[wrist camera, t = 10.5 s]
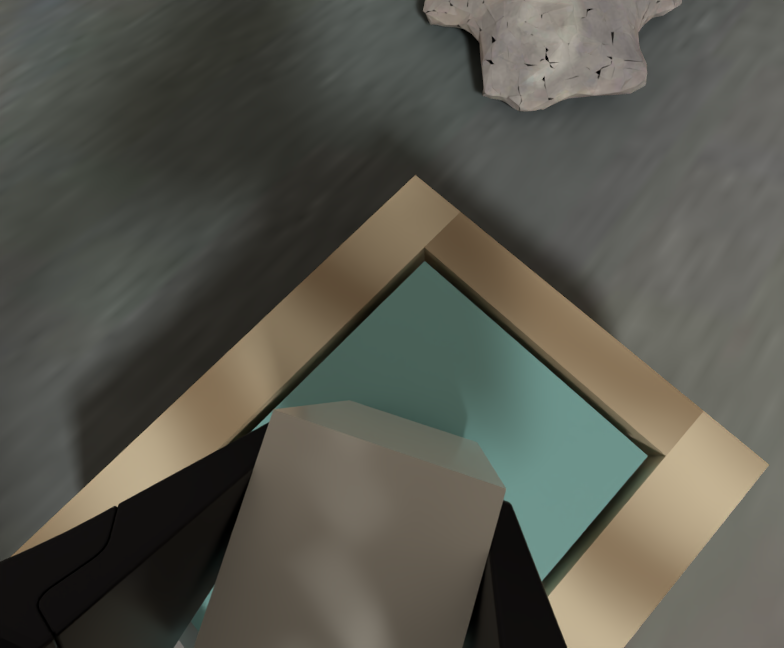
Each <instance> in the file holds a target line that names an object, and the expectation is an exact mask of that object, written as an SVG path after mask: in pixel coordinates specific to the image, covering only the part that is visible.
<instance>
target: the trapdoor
mask: <svg viewBox="0 0 784 648" xmlns="http://www.w3.org/2000/svg"><path fill="white" fill-rule="evenodd" d="M347 400H350V401H353V402H357V403H360V404H363V405H366V406H369V407H372V408H375V409H378V410H381V411H384V412H387V413H390V414H393V415H396V416H399V417H402V418H405V419H408V420H411V421H414V422H417V423H420V424H423V425H426V426H429V427H433V428H436V429H439V430H442V431H445V432H448V433H451V434H454V435H457V436H460V437H463V438H466V439H469V440H472V441H475V442H477V443H478V444H479V446H480V447H481V449H482V451H483V452H484V454H485V455H486V457H487V459H488V460H489V462H490V463H491V465H492V467H493V468H494V470H495V471H496V473H497V475H498V476H499V478H500V479H501V481H502V483H503V484H504V486H505V487H506V492H505V496H504V499H503V500H505V501H508V502H510V503H511V504H512V506H513V509H514V511H515V514H516V517H517V519H518V522H519V524H520V527H521V529H522V532H523V535H524V537H525V540H526V542H527V545H528V547H529V550H530V553H531V555H532V558H533V560H534V563H535V565H536V568H537V571H538V573H539V576H540V578H541V581H543V579H544V578H545V577H546V576H547V575H548V573H549V572H550V571H551V570H552V569H553V568H554V566H555V565H556V564H557V563H558V562H559V560H560V559H561V558H562V557H563V556H564V555H565V553H566V552H567V551H568V550H569V549H570V547H571V546H572V545H573V544H574V543H575V542H576V540H577V539H578V538H579V537H580V536H581V535H582V533H583V532H584V531H585V530H586V529H587V527H588V526H589V525H590V524H591V523H592V522H593V520H594V519H595V518H596V517H597V516H598V514H599V513H600V512H601V511H602V510H603V509H604V507H605V506H606V505H607V504H608V503H609V501H610V500H611V499H612V498H613V497H614V496H615V494H616V493H617V492H618V491H619V490H620V488H621V487H622V486H623V485H624V484H625V483H626V481H627V480H628V479H629V478H630V477H631V476H632V474H633V473H634V472H635V471H636V470H637V468H638V467H639V466H640V465H641V464H642V463H643V461H644V460H645V459H646V458H647V457H648V456H647V455H646V454H645V453H644V452H643V451H642V450H641V449H639V448H638V447H637V446H636V445H635V444H634V443H633V442H631V441H630V440H629V439H628V438H627V437H626V436H625V435H623V434H622V433H621V432H620V431H619V430H618V429H617V428H615V427H614V426H613V425H612V424H611V423H610V422H609V421H607V420H606V419H605V418H604V417H603V416H602V415H601V414H599V413H598V412H597V411H596V410H595V409H594V408H593V407H591V406H590V405H589V404H588V403H587V402H586V401H585V400H583V399H582V398H581V397H580V396H579V395H578V394H577V393H575V392H574V391H573V390H572V389H571V388H570V387H569V386H567V385H566V384H565V383H564V382H563V381H562V380H560V379H559V378H558V377H557V376H556V375H555V374H554V373H552V372H551V371H550V370H549V369H548V368H547V367H546V366H544V365H543V364H542V363H541V362H540V361H539V360H538V359H536V358H535V357H534V356H533V355H532V354H531V353H530V352H528V351H527V350H526V349H525V348H524V347H523V346H522V345H520V344H519V343H518V342H517V341H516V340H515V339H514V338H512V337H511V336H510V335H509V334H508V333H507V332H506V331H504V330H503V329H502V328H501V327H500V326H499V325H498V324H496V323H495V322H494V321H493V320H492V319H491V318H490V317H488V316H487V315H486V314H485V313H484V312H483V311H482V310H480V309H479V308H478V307H477V306H476V305H475V304H474V303H472V302H471V301H470V300H469V299H468V298H467V297H465V296H464V295H463V294H462V293H461V292H460V291H459V290H457V289H456V288H455V287H454V286H453V285H452V284H451V283H449V282H448V281H447V280H446V279H445V278H444V277H443V276H441V275H440V274H439V273H438V272H437V271H436V270H435V269H433V268H432V267H431V266H430V265H429V264H428V263H427V262H425V261H424V262H423V263H422V264H421V265H420V266H419V267H418V268H417V269H416V270H415V271H414V272H413V273H412V274H411V275H410V276H409V277H408V278H407V279H406V280H405V281H404V282H403V283H402V284H401V285H400V286H399V287H398V288H397V289H396V290H395V291H394V292H393V293H392V294H391V295H390V296H389V297H388V298H387V299H386V300H384V301H383V302H382V303H381V304H380V305H379V306H378V307H377V308H376V309H375V310H374V311H373V312H372V313H371V314H370V315H369V316H368V317H367V318H366V319H365V320H364V321H363V322H362V323H361V324H360V325H359V326H358V327H357V328H356V329H355V330H354V331H353V332H352V333H351V334H350V335H349V336H348V337H347V338H346V339H345V340H344V341H343V342H342V343H341V344H340V345H339V346H338V347H337V348H336V349H335V350H334V351H333V352H332V353H331V354H330V355H329V356H328V357H327V358H326V359H325V360H324V361H323V362H321V363H320V364H319V365H318V366H317V367H316V368H315V369H314V370H313V371H312V372H311V373H310V374H309V375H308V376H307V377H306V378H305V379H304V380H303V381H302V382H301V383H300V384H299V385H298V386H297V387H296V388H295V389H294V390H293V391H292V392H291V393H290V394H289V395H288V396H287V397H286V398H285V399H284V400H283V401H282V402H281V403H280V404H279V405H278V406H277V407H276V408H275V409H280V408H289V407H297V406H305V405H314V404H322V403H330V402H339V401H347ZM272 412H273V411H272ZM272 412H271V413H270V414H269V415H268V416H267V417H266V418H265V419H264V420H263V421H262V422H261V423H260V424H259V425H257V426H256V427H255V428H254V429H253V430H255V429H257V428H259V427H261V426H263V425H264V424H266V423H268V422H269V421H270V418H271V415H272ZM253 430H252V431H253ZM252 431H251V432H252ZM213 588H214V587H213ZM213 588H212V590H211V591H210V593H209V594H208V596H207V597H206V599H205V600H204V602H203V604H202V605H201V607H200V608H199V610H198V611H197V613H196V614H195V616H194V617H193V619H192V620H191V622H190V624H189V625H188V627H187V628H186V630H185V631H184V633H183V634H182V636H181V637H180V639H179V640H178V642H177V644H176V645H175V647H174V648H194V645H195V642H196V639H197V636H198V633H199V630H200V627H201V624H202V621H203V618H204V615H205V612H206V609H207V606H208V603H209V600H210V597H211V594H212V591H213Z"/></svg>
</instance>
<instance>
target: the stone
mask: <svg viewBox="0 0 784 648" xmlns="http://www.w3.org/2000/svg"><path fill="white" fill-rule="evenodd" d="M483 1H484V3H483ZM467 3H468V7H467ZM681 3H682V0H425V3H424V8H423V12H424V13H426V16H427V19H428V21H429V23H430V25H433V24H435V25H440V26H444V27H457V28H461V29H465V30H466V31H468V32H470V33H471V34H472V35H473V36H474V37H475V38H476V39H477V40H478V42H479V43H480V59H481V68H482V76H483V87H484V88H483V94H482V95H483V96H485V97H488V98H492V99H497V100H501V101H503V102H505V103H507V104H509V105H510V106H511V107H513V108H514V109H516V110H518V111H536V110H539V109H542V110H543V109H545V108H547V107H549V106H551V105H553V104H555V103H557V102H559V101H562V100H566V99H567V98H577V97H587V96H601V95H619V94H631V93H632V92H634V91H636V90H638V89H639V88H641V87H643V86H645V85H646V78H647V64H646V61H645V59H644V57H643V55H642V52H641V50H640V47H639V37H638V32H639V31H640V29H641V28H642V26H643V25H645V24H646V23H647V22H648V21H649V20H650V19H651V18H655V17H659V16H663V15H665V14H666V13H668V12H669V11H671V10H672V9H674V8H676V7H677V6H679V5H681ZM587 9H592V10H590V11H588V13H587ZM427 11H428V12H427ZM542 14H543V15H542ZM541 15H542V18H541ZM503 16H504V17H503ZM586 16H587V17H586ZM582 17H585V18H582ZM525 21H526V22H525ZM507 22H508V28H507ZM531 34H533V35H531ZM568 43H569V45H568ZM544 46H545V47H544ZM546 48H547V49H548V51H547V52H546ZM583 52H584V53H583ZM588 53H589V54H588ZM546 54H547V57H548V59H549V62H559V63H551V64H550V63H549V62H548V61H547V60H546V59H545V55H546ZM590 54H591V55H590ZM541 59H544V60H542V61H540V60H541ZM524 63H525V64H524ZM526 64H530V65H533V66H527V65H526ZM550 65H551V66H552V67H553V68H551V67H550ZM516 69H517V70H516ZM544 76H545V80H542V79H543V78H544Z"/></svg>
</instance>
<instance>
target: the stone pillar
mask: <svg viewBox="0 0 784 648" xmlns="http://www.w3.org/2000/svg"><path fill="white" fill-rule="evenodd" d="M505 492H506V487H505V486H504V484H503V483H502V481H501V479H500V478H499V476H498V475H497V473H496V471H495V470H494V468H493V467H492V465H491V463H490V462H489V460H488V459H487V457H486V455H485V454H484V452H483V451H482V449H481V447H480V446H479V444H478V443H477V442H475V441H472V440H469V439H466V438H463V437H460V436H457V435H454V434H451V433H448V432H445V431H442V430H439V429H436V428H433V427H429V426H426V425H423V424H420V423H417V422H414V421H411V420H408V419H405V418H402V417H399V416H396V415H393V414H390V413H387V412H384V411H381V410H378V409H375V408H372V407H369V406H366V405H363V404H360V403H357V402H353V401H350V400H347V401H339V402H330V403H322V404H314V405H305V406H297V407H289V408H280V409H273V412H272V415H271V418H270V421H269V424H268V427H267V430H266V433H265V436H264V439H263V442H262V445H261V448H260V451H259V454H258V457H257V460H256V463H255V466H254V469H253V472H252V475H251V478H250V481H249V484H248V487H247V490H246V493H245V496H244V499H243V502H242V505H241V508H240V511H239V514H238V517H237V520H236V523H235V526H234V529H233V531H232V534H231V537H230V540H229V543H228V546H227V549H226V552H225V555H224V558H223V561H222V564H221V567H220V570H219V573H218V576H217V579H216V582H215V585H214V588H213V591H212V594H211V597H210V600H209V603H208V606H207V609H206V612H205V615H204V618H203V621H202V624H201V627H200V630H199V633H198V636H197V639H196V642H195V645H194V648H462V647H463V643H464V639H465V636H466V632H467V629H468V625H469V621H470V618H471V614H472V611H473V607H474V603H475V600H476V596H477V593H478V589H479V585H480V582H481V578H482V575H483V571H484V567H485V564H486V560H487V557H488V553H489V549H490V546H491V542H492V539H493V535H494V532H495V528H496V524H497V521H498V517H499V514H500V510H501V506H502V503H503V499H504V496H505Z"/></svg>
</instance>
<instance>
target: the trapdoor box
mask: <svg viewBox="0 0 784 648" xmlns="http://www.w3.org/2000/svg"><path fill="white" fill-rule="evenodd" d="M424 261H425V262H427V263H428V264H429V265H430V266H431V267H432V268H433V269H435V270H436V271H437V272H438V273H439V274H440V275H441V276H443V277H444V278H445V279H446V280H447V281H448V282H449V283H451V284H452V285H453V286H454V287H455V288H456V289H457V290H459V291H460V292H461V293H462V294H463V295H464V296H465V297H467V298H468V299H469V300H470V301H471V302H472V303H474V304H475V305H476V306H477V307H478V308H479V309H480V310H482V311H483V312H484V313H485V314H486V315H487V316H488V317H490V318H491V319H492V320H493V321H494V322H495V323H496V324H498V325H499V326H500V327H501V328H502V329H503V330H504V331H506V332H507V333H508V334H509V335H510V336H511V337H512V338H514V339H515V340H516V341H517V342H518V343H519V344H520V345H522V346H523V347H524V348H525V349H526V350H527V351H528V352H530V353H531V354H532V355H533V356H534V357H535V358H536V359H538V360H539V361H540V362H541V363H542V364H543V365H544V366H546V367H547V368H548V369H549V370H550V371H551V372H552V373H554V374H555V375H556V376H557V377H558V378H559V379H560V380H562V381H563V382H564V383H565V384H566V385H567V386H569V387H570V388H571V389H572V390H573V391H574V392H575V393H577V394H578V395H579V396H580V397H581V398H582V399H583V400H585V401H586V402H587V403H588V404H589V405H590V406H591V407H593V408H594V409H595V410H596V411H597V412H598V413H599V414H601V415H602V416H603V417H604V418H605V419H606V420H607V421H609V422H610V423H611V424H612V425H613V426H614V427H615V428H617V429H618V430H619V431H620V432H621V433H622V434H623V435H625V436H626V437H627V438H628V439H629V440H630V441H631V442H633V443H634V444H635V445H636V446H637V447H638V448H639V449H641V450H642V451H643V452H644V453H645V454H646V455H647V456H648V457H647V458H646V459H645V460H644V461H643V463H642V464H641V465H640V466H639V467H638V468H637V470H636V471H635V472H634V473H633V474H632V476H631V477H630V478H629V479H628V480H627V481H626V483H625V484H624V485H623V486H622V487H621V488H620V490H619V491H618V492H617V493H616V494H615V496H614V497H613V498H612V499H611V500H610V501H609V503H608V504H607V505H606V506H605V507H604V509H603V510H602V511H601V512H600V513H599V514H598V516H597V517H596V518H595V519H594V520H593V522H592V523H591V524H590V525H589V526H588V527H587V529H586V530H585V531H584V532H583V533H582V535H581V536H580V537H579V538H578V539H577V540H576V542H575V543H574V544H573V545H572V546H571V547H570V549H569V550H568V551H567V552H566V553H565V555H564V556H563V557H562V558H561V559H560V560H559V562H558V563H557V564H556V565H555V566H554V568H553V569H552V570H551V571H550V572H549V573H548V575H547V576H546V577H545V578H544V579H543V581H542V583H543V586H544V589H545V591H546V594H547V596H548V599H549V601H550V604H551V607H552V609H553V612H554V614H555V617H556V619H557V622H558V625H559V627H560V630H561V632H562V635H563V637H564V640H565V643H566V645H567V648H624V646H625V645H626V644H627V643H628V641H629V640H630V639H631V638H632V636H633V635H634V634H635V633H636V631H637V630H638V629H639V628H640V626H641V625H642V624H643V623H644V621H645V620H646V619H647V618H648V616H649V615H650V614H651V613H652V611H653V610H654V609H655V608H656V606H657V605H658V604H659V603H660V601H661V600H662V599H663V597H664V596H665V595H666V594H667V592H668V591H669V590H670V589H671V587H672V586H673V585H674V584H675V582H676V581H677V580H678V579H679V577H680V576H681V575H682V574H683V572H684V571H685V570H686V569H687V567H688V566H689V565H690V564H691V562H692V561H693V560H694V559H695V557H696V556H697V555H698V554H699V552H700V551H701V550H702V548H703V547H704V546H705V545H706V543H707V542H708V541H709V540H710V538H711V537H712V536H713V535H714V533H715V532H716V531H717V530H718V528H719V527H720V526H721V525H722V523H723V522H724V521H725V520H726V518H727V517H728V516H729V515H730V513H731V512H732V511H733V510H734V508H735V507H736V506H737V505H738V503H739V502H740V501H741V499H742V498H743V497H744V496H745V494H746V493H747V492H748V491H749V489H750V488H751V487H752V486H753V484H754V483H755V482H756V481H757V479H758V478H759V477H760V476H761V474H762V473H763V472H764V471H765V469H766V468H767V467H768V466H769V464H768V463H766V462H765V461H764V460H763V459H762V458H760V457H759V456H758V455H757V454H755V453H754V452H753V451H752V450H751V449H749V448H748V447H747V446H746V445H744V444H743V443H742V442H741V441H740V440H738V439H737V438H736V437H735V436H733V435H732V434H731V433H730V432H729V431H727V430H726V429H725V428H724V427H722V426H721V425H720V424H719V423H718V422H716V421H715V420H714V419H713V418H711V417H710V416H709V415H708V414H707V413H705V412H704V411H703V410H702V409H700V408H699V407H698V406H697V405H696V404H694V403H693V402H692V401H691V400H689V399H688V398H687V397H686V396H685V395H683V394H682V393H681V392H680V391H679V390H677V389H676V388H675V387H674V386H672V385H671V384H670V383H669V382H668V381H666V380H665V379H664V378H663V377H661V376H660V375H659V374H658V373H657V372H655V371H654V370H653V369H652V368H650V367H649V366H648V365H647V364H646V363H644V362H643V361H642V360H641V359H639V358H638V357H637V356H636V355H635V354H633V353H632V352H631V351H630V350H628V349H627V348H626V347H625V346H624V345H622V344H621V343H620V342H619V341H617V340H616V339H615V338H614V337H613V336H611V335H610V334H609V333H608V332H606V331H605V330H604V329H603V328H602V327H600V326H599V325H598V324H597V323H595V322H594V321H593V320H592V319H591V318H589V317H588V316H587V315H586V314H585V313H583V312H582V311H581V310H580V309H578V308H577V307H576V306H575V305H574V304H572V303H571V302H570V301H569V300H567V299H566V298H565V297H564V296H563V295H561V294H560V293H559V292H558V291H556V290H555V289H554V288H553V287H552V286H550V285H549V284H548V283H547V282H545V281H544V280H543V279H542V278H541V277H539V276H538V275H537V274H536V273H534V272H533V271H532V270H531V269H530V268H528V267H527V266H526V265H525V264H523V263H522V262H521V261H520V260H519V259H517V258H516V257H515V256H514V255H512V254H511V253H510V252H509V251H508V250H506V249H505V248H504V247H503V246H501V245H500V244H499V243H498V242H497V241H495V240H494V239H493V238H492V237H491V236H489V235H488V234H487V233H486V232H484V231H483V230H482V229H481V228H480V227H478V226H477V225H476V224H475V223H473V222H472V221H471V220H470V219H469V218H467V217H466V216H465V215H464V214H462V213H461V212H460V211H459V210H458V209H456V208H455V207H454V206H453V205H451V204H450V203H449V202H448V201H447V200H445V199H444V198H443V197H442V196H440V195H439V194H438V193H437V192H436V191H434V190H433V189H432V188H431V187H429V186H428V185H427V184H426V183H425V182H423V181H422V180H421V179H420V178H418V177H417V176H416V175H415V176H414V177H413V178H412V179H411V180H410V181H408V182H407V183H406V184H405V185H404V186H403V187H402V188H401V189H400V190H399V191H398V192H397V193H396V194H395V195H394V196H393V197H392V198H390V199H389V200H388V201H387V202H386V203H385V204H384V205H383V206H382V207H381V208H380V209H379V210H378V211H377V212H376V213H375V214H373V215H372V216H371V217H370V218H369V219H368V220H367V221H366V222H365V223H364V224H363V225H362V226H361V227H360V228H359V229H358V230H357V231H355V232H354V233H353V234H352V235H351V236H350V237H349V238H348V239H347V240H346V241H345V242H344V243H343V244H342V245H341V246H340V247H339V248H337V249H336V250H335V251H334V252H333V253H332V254H331V255H330V256H329V257H328V258H327V259H326V260H325V261H324V262H323V263H322V264H321V265H319V266H318V267H317V268H316V269H315V270H314V271H313V272H312V273H311V274H310V275H309V276H308V277H307V278H306V279H305V280H304V281H302V282H301V283H300V284H299V285H298V286H297V287H296V288H295V289H294V290H293V291H292V292H291V293H290V294H289V295H288V296H287V297H286V298H284V299H283V300H282V301H281V302H280V303H279V304H278V305H277V306H276V307H275V308H274V309H273V310H272V311H271V312H270V313H269V314H268V315H266V316H265V317H264V318H263V319H262V320H261V321H260V322H259V323H258V324H257V325H256V326H255V327H254V328H253V329H252V330H251V331H250V332H248V333H247V334H246V335H245V336H244V337H243V338H242V339H241V340H240V341H239V342H238V343H237V344H236V345H235V346H234V347H233V348H231V349H230V350H229V351H228V352H227V353H226V354H225V355H224V356H223V357H222V358H221V359H220V360H219V361H218V362H217V363H216V364H215V365H213V366H212V367H211V368H210V369H209V370H208V371H207V372H206V373H205V374H204V375H203V376H202V377H201V378H200V379H199V380H198V381H197V382H195V383H194V384H193V385H192V386H191V387H190V388H189V389H188V390H187V391H186V392H185V393H184V394H183V395H182V396H181V397H180V398H179V399H177V400H176V401H175V402H174V403H173V404H172V405H171V406H170V407H169V408H168V409H167V410H166V411H165V412H164V413H163V414H162V415H160V416H159V417H158V418H157V419H156V420H155V421H154V422H153V423H152V424H151V425H150V426H149V427H148V428H147V429H146V430H145V431H144V432H142V433H141V434H140V435H139V436H138V437H137V438H136V439H135V440H134V441H133V442H132V443H131V444H130V445H129V446H128V447H127V448H126V449H124V450H123V451H122V452H121V453H120V454H119V455H118V456H117V457H116V458H115V459H114V460H113V461H112V462H111V463H110V464H109V465H108V466H106V467H105V468H104V469H103V470H102V471H101V472H100V473H99V474H98V475H97V476H96V477H95V478H94V479H93V480H92V481H91V482H89V483H88V484H87V485H86V486H85V487H84V488H83V489H82V490H81V491H80V492H79V493H78V494H77V495H76V496H75V497H74V498H73V499H71V500H70V501H69V502H68V503H67V504H66V505H65V506H64V507H63V508H62V509H61V510H60V511H59V512H58V513H57V514H56V515H55V516H53V517H52V518H51V519H50V520H49V521H48V522H47V523H46V524H45V525H44V526H43V527H42V528H41V529H40V530H39V531H38V532H37V533H35V534H34V535H33V536H32V537H31V538H30V539H29V540H28V541H27V542H26V543H25V544H24V545H23V546H22V547H21V548H20V549H18V550H17V551H16V552H15V553H14V554H13V555H12V556H14V555H16V554H19V553H21V552H23V551H25V550H28V549H30V548H32V547H34V546H36V545H38V544H40V543H43V542H45V541H47V540H49V539H51V538H53V537H55V536H57V535H60V534H62V533H64V532H66V531H68V530H70V529H72V528H74V527H76V526H77V525H79V524H81V523H83V522H85V521H87V520H89V519H91V518H93V517H95V516H97V515H99V514H100V513H102V512H104V511H106V510H108V509H110V508H111V507H113V506H117V507H118V505H119V503H121V502H123V501H125V500H126V499H128V498H130V497H132V496H134V495H136V494H137V493H139V492H141V491H143V490H145V489H147V488H149V487H150V486H152V485H154V484H156V483H158V482H160V481H161V480H163V479H165V478H167V477H169V476H171V475H172V474H174V473H176V472H178V471H180V470H182V469H183V468H185V467H187V466H189V465H191V464H193V463H195V462H196V461H198V460H200V459H202V458H204V457H206V456H207V455H209V454H211V453H213V452H215V451H217V450H218V449H220V448H222V447H224V446H226V445H228V444H229V443H231V442H233V441H235V440H237V439H239V438H241V437H242V436H244V435H246V434H248V433H250V432H251V431H252V430H253V429H254V428H255V427H256V426H257V425H259V424H260V423H261V422H262V421H263V420H264V419H265V418H266V417H267V416H268V415H269V414H270V413H271V412H272V411H273V409H275V408H276V407H277V406H278V405H279V404H280V403H281V402H282V401H283V400H284V399H285V398H286V397H287V396H288V395H289V394H290V393H291V392H292V391H293V390H294V389H295V388H296V387H297V386H298V385H299V384H300V383H301V382H302V381H303V380H304V379H305V378H306V377H307V376H308V375H309V374H310V373H311V372H312V371H313V370H314V369H315V368H316V367H317V366H318V365H319V364H320V363H321V362H323V361H324V360H325V359H326V358H327V357H328V356H329V355H330V354H331V353H332V352H333V351H334V350H335V349H336V348H337V347H338V346H339V345H340V344H341V343H342V342H343V341H344V340H345V339H346V338H347V337H348V336H349V335H350V334H351V333H352V332H353V331H354V330H355V329H356V328H357V327H358V326H359V325H360V324H361V323H362V322H363V321H364V320H365V319H366V318H367V317H368V316H369V315H370V314H371V313H372V312H373V311H374V310H375V309H376V308H377V307H378V306H379V305H380V304H381V303H382V302H383V301H384V300H386V299H387V298H388V297H389V296H390V295H391V294H392V293H393V292H394V291H395V290H396V289H397V288H398V287H399V286H400V285H401V284H402V283H403V282H404V281H405V280H406V279H407V278H408V277H409V276H410V275H411V274H412V273H413V272H414V271H415V270H416V269H417V268H418V267H419V266H420V265H421V264H422V263H423V262H424ZM12 556H11V557H12Z"/></svg>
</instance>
